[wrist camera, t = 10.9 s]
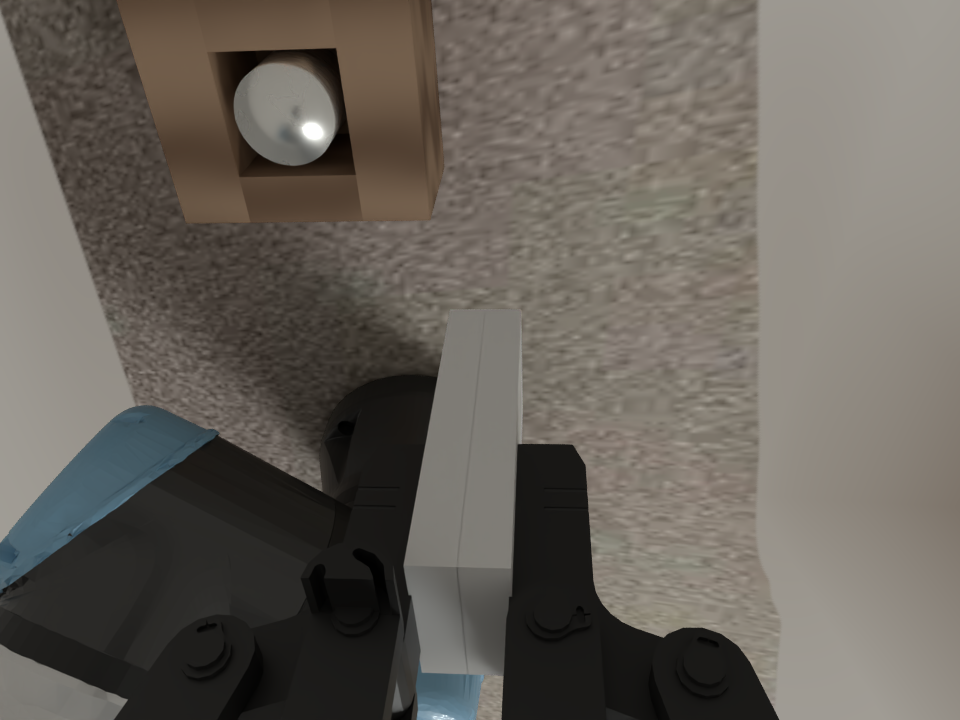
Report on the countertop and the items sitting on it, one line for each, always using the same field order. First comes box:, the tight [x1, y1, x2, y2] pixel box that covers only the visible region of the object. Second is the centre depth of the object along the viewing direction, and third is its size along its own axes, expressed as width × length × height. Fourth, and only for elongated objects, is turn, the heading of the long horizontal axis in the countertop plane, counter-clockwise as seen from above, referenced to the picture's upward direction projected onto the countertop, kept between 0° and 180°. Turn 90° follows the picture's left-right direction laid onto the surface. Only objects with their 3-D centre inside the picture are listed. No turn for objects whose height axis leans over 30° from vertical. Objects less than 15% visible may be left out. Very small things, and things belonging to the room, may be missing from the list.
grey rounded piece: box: [234, 48, 347, 166], centre depth 37 cm, size 5×5×6 cm
